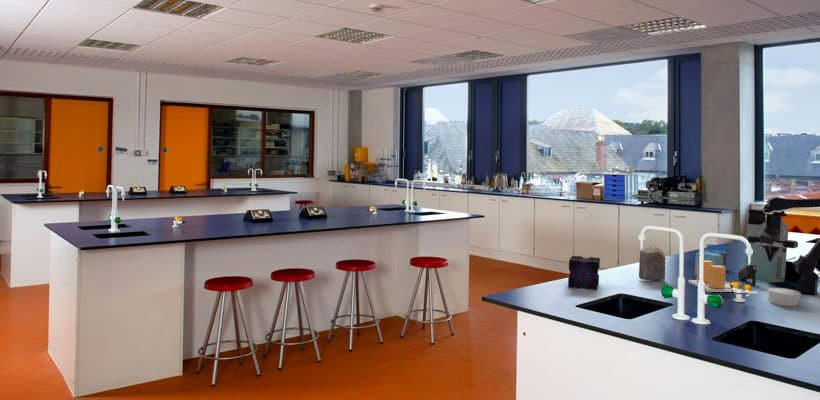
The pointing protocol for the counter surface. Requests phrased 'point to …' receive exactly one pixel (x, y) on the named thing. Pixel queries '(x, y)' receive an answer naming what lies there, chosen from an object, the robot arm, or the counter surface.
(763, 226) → the device
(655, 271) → the geological specimen
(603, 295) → the counter surface
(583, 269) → the energy cube
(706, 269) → the tab
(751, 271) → the gun
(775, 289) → the ramekin
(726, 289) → the dip bank
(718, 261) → the data package
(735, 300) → the counter surface
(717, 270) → the orange rectangular block
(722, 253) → the label tape box
